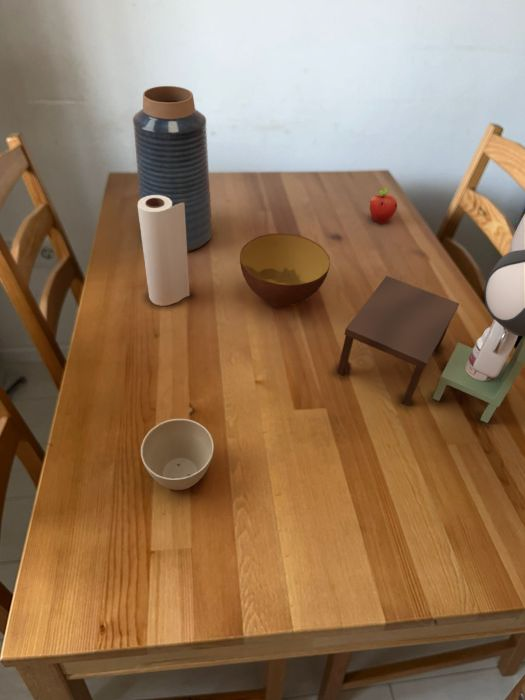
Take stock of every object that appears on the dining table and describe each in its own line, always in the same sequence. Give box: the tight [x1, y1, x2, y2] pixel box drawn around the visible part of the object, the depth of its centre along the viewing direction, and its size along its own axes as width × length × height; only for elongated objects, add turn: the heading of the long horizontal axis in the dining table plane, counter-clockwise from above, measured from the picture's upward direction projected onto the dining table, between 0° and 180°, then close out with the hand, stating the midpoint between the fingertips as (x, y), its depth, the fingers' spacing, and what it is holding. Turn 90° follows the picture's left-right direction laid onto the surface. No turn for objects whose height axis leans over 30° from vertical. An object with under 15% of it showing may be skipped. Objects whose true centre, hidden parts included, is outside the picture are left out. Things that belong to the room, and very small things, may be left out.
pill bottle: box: [465, 326, 492, 381], centre depth 84 cm, size 5×5×8 cm
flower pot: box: [140, 418, 215, 491], centre depth 73 cm, size 10×10×7 cm
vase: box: [132, 85, 213, 252], centre depth 111 cm, size 16×16×32 cm
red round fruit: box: [369, 188, 398, 224], centre depth 128 cm, size 8×7×10 cm
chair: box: [432, 336, 525, 424], centre depth 85 cm, size 10×10×15 cm
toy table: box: [336, 275, 460, 407], centre depth 92 cm, size 14×18×11 cm
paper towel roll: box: [137, 195, 190, 307], centre depth 97 cm, size 7×6×21 cm
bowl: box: [239, 232, 331, 308], centre depth 104 cm, size 18×18×10 cm
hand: (487, 359), depth 84 cm, fingers open, 8 cm apart
